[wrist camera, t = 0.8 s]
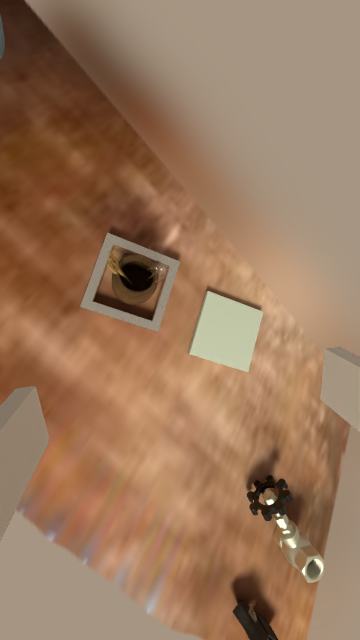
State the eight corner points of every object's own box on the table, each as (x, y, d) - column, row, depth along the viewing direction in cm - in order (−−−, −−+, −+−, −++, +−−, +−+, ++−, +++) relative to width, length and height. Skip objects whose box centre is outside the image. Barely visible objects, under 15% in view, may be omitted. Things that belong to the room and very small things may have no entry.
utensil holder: (152, 307, 37) (170, 293, 26) (108, 304, 36) (106, 288, 24) (154, 267, 38) (172, 237, 26) (110, 263, 36) (109, 228, 25)
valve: (303, 529, 42) (270, 468, 41) (337, 564, 35) (300, 492, 34) (273, 557, 40) (238, 494, 39) (303, 599, 33) (263, 525, 33)
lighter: (255, 596, 41) (286, 641, 37) (246, 608, 41) (276, 656, 37) (242, 597, 36) (276, 650, 32) (232, 612, 35) (265, 668, 31)
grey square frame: (81, 308, 35) (80, 306, 33) (107, 237, 36) (107, 232, 34) (155, 332, 37) (157, 331, 35) (177, 264, 39) (180, 261, 37)
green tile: (187, 353, 38) (189, 353, 37) (205, 291, 40) (208, 290, 39) (244, 371, 40) (247, 372, 39) (259, 312, 42) (263, 311, 41)
